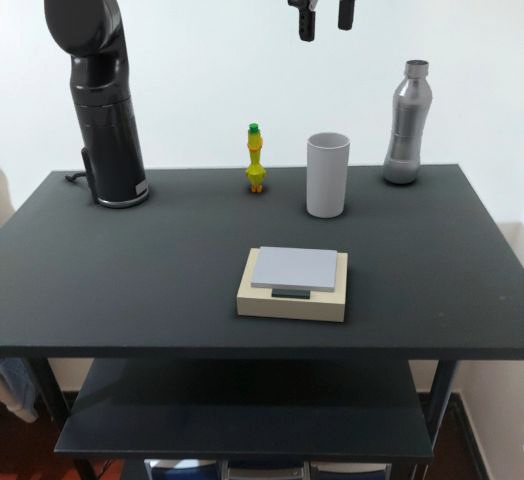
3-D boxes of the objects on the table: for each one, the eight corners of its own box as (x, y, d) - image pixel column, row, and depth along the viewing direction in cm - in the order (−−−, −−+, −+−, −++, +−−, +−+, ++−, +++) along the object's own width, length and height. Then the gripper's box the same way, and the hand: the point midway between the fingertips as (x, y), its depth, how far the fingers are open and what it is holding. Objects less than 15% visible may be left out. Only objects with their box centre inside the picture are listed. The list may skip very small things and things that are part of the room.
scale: (237, 314, 72) (236, 291, 70) (251, 265, 81) (250, 243, 79) (343, 322, 71) (345, 298, 68) (346, 270, 79) (348, 248, 77)
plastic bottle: (377, 174, 103) (391, 58, 90) (411, 171, 103) (430, 56, 90) (386, 189, 98) (402, 69, 85) (422, 186, 99) (444, 66, 85)
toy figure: (249, 181, 102) (246, 115, 94) (268, 181, 102) (267, 116, 94) (244, 197, 97) (241, 130, 89) (264, 198, 97) (262, 130, 89)
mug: (341, 220, 90) (347, 149, 82) (302, 217, 91) (303, 146, 83) (348, 193, 97) (354, 125, 89) (311, 190, 99) (314, 123, 91)
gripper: (345, -114, 74) (336, 23, 84) (273, -109, 66) (273, 40, 77) (391, -113, 70) (376, 30, 80) (320, -108, 62) (313, 49, 73)
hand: (326, 35), depth 79 cm, fingers open, 8 cm apart
